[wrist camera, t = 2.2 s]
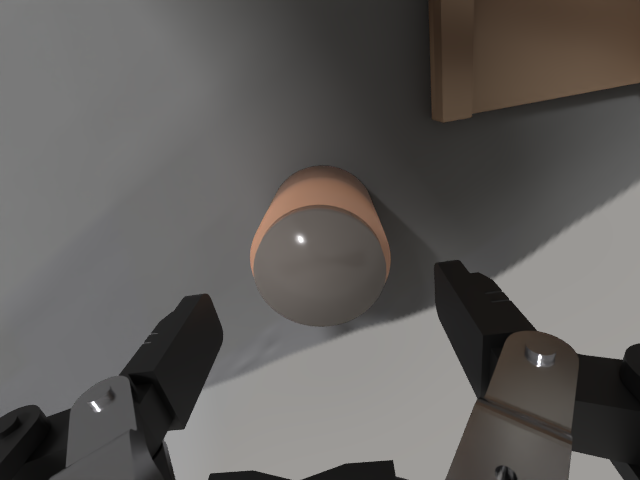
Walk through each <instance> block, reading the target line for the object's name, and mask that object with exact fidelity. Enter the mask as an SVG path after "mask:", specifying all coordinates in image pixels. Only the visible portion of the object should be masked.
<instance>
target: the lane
mask: <svg viewBox="0 0 640 480" xmlns="http://www.w3.org/2000/svg"><path fill="white" fill-rule="evenodd" d="M428 2H429V36H430V70H431V104H432V120H435V121H439V122H442V123H444V122H450V121H455V120H460V119H466V118H471V117H472V114H474V113H480V112H485V111H490V110H496V109H501V108H506V107H512V106H517V105H523V104H528V103H533V102H539V101H544V100H549V99H555V98H560V97H566V96H571V95H576V94H582V93H587V92H592V91H598V90H603V89H609V88H614V87H619V86H625V85H630V84H635V83H640V0H428Z"/></svg>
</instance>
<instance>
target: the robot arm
mask: <svg viewBox="0 0 640 480" xmlns="http://www.w3.org/2000/svg"><path fill="white" fill-rule="evenodd" d="M434 279H435V303H436V310H437V313H438V317H439V320H440V322H441V324H442V326H443V328H444V330H445V332H446V334H447V336H448V338H449V340H450V342H451V344H452V347H453V349H454V351H455V353H456V355H457V357H458V359H459V361H460V363H461V365H462V367H463V369H464V371H465V374H466V376H467V378H468V380H469V382H470V384H471V386H472V388H473V390H474V392H475V394H476V396H477V401H476V403H475V405H474V408H473V410H472V413H471V415H470V418H469V420H468V423H467V426H466V428H465V431H464V433H463V436H462V438H461V441H460V444H459V446H458V449H457V451H456V454H455V456H454V459H453V462H452V464H451V467H450V469H449V472H448V474H447V477H446V479H445V480H568V478H569V468H570V459H571V451H575V452H580V453H584V454H588V455H593V456H597V457H602V458H606V459H610V461H611V462H612V464H613V465H614V466H615V468H616V469H617V471H618V472H619V474H620V475H621V476H622V478H623V479H624V480H640V344H635V345H633V346H630V347H629V348H628V349H627V350H626V352H625V355H624V358H623V360H619V359H611V358H603V357H595V356H586V355H581V354H577V353H576V352H575V351H574V349H573V348H572V347H571V346H570V345H568V344H567V343H565V342H564V341H563V340H561V339H559V338H557V337H555V336H553V335H550V334H547V333H543V332H539V331H537V330H536V329H535V328H534V327H533V325H532V324H531V323H530V322H529V321H528V320H527V319H526V317H525V316H524V315H523V314H522V313H521V312H520V311H519V309H518V308H517V307H516V306H515V305H514V304H513V303H512V301H509V298H508V297H507V296H506V295H505V294H504V293H503V292H502V290H501V289H500V288H499V287H498V285H497V284H496V283H495V282H494V281H493V280H492V279H490V278H488V277H486V276H485V275H483V274H481V273H479V272H477V273H469V272H468V270H467V269H466V268H465V266H464V265H463V264H462V263H461V261H460V260H453V261H446V262H439V263H435V266H434ZM222 342H223V330H222V326H221V323H220V321H219V318H218V316H217V313H216V310H215V308H214V305H213V303H212V300H211V298H210V296H209V295H208V294H199V295H192V296H186V297H184V298H183V299H182V301H181V302H180V303H179V305H178V306H177V307H176V309H175V310H174V312H171V313H170V314H169V315H168V316H166V317H165V318H164V319H163V320H161V321H160V322H159V323H158V325H157V326H156V327H155V329H154V330H153V331H152V332H151V335H149V336H148V338H147V339H146V340H145V342H144V344H142V346H141V347H140V348H139V350H138V351H137V352H136V353H135V355H134V356H133V357H132V359H131V360H130V361H129V363H128V364H127V365H126V367H125V368H124V369H123V371H122V372H121V373H120V374H119V376H114V377H110V378H107V379H105V380H102V381H100V382H99V383H97V384H95V385H94V386H92V387H91V388H89V389H88V390H87V391H85V392H84V393H83V394H82V395H81V396H80V397H79V398H78V399H77V400H76V402H75V403H74V405H73V406H72V408H71V409H68V410H65V411H62V412H60V413H57V414H54V415H51V416H48V417H46V416H45V414H44V413H43V412H42V411H41V409H40V408H39V407H38V406H36V405H28V406H24V407H21V408H18V409H16V410H13V411H11V412H9V413H7V414H6V415H4V416H2V417H1V418H0V480H176V479H175V475H174V471H173V467H172V463H171V459H170V455H169V451H168V447H167V444H166V442H165V441H164V437H165V435H166V433H167V431H170V430H182V429H185V426H186V424H187V422H188V420H189V417H190V415H191V413H192V411H193V408H194V406H195V404H196V402H197V399H198V397H199V395H200V393H201V390H202V388H203V386H204V384H205V381H206V379H207V377H208V374H209V372H210V370H211V368H212V365H213V363H214V361H215V359H216V356H217V354H218V352H219V350H220V347H221V345H222ZM208 480H290V479H286V478H282V477H278V476H273V475H269V474H265V473H261V472H257V471H239V472H226V473H212V474H210V475H209V479H208ZM303 480H407V479H404V478H399V477H396V476H395V470H394V464H393V460H389V461H376V462H362V463H348V464H344V465H341V466H338V467H335V468H333V469H330V470H327V471H324V472H322V473H319V474H316V475H313V476H311V477H308V478H305V479H303Z"/></svg>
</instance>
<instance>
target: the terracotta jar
mask: <svg viewBox="0 0 640 480" xmlns="http://www.w3.org/2000/svg"><path fill="white" fill-rule="evenodd" d="M250 262H251V269H252V273H253V276H254V279H255V283H256V286H257V288H258V291H259V292H260V294H261V296H262V298H263V299H264V300H265V302H266V303H267V304H268V305H269V306H270V307H271V308H272V309H273V310H274V311H276V312H277V313H278V314H280V315H281V316H283V317H285V318H287V319H289V320H291V321H293V322H296V323H299V324H303V325H308V326H318V327H325V326H334V325H339V324H342V323H346V322H348V321H351V320H353V319H355V318H357V317H359V316H360V315H362V314H363V313H364V312H366V311H367V310H368V309H369V308H370V307H371V306H372V305H373V304H374V303H375V302H376V300H377V299H378V297H379V296H380V294H381V292H382V289H383V287H384V284H385V282H386V280H387V278H388V274H389V271H390V264H391V254H390V248H389V244H388V241H387V238H386V235H385V233H384V230H383V228H382V225H381V222H380V220H379V217H378V215H377V212H376V210H375V207H374V204H373V202H372V199H371V197H370V195H369V193H368V191H367V189H366V188H365V186H364V185H363V184H362V183H361V182H360V181H359V180H358V179H357V178H356V177H355V176H354V175H352V174H350V173H349V172H347V171H345V170H342V169H340V168H336V167H332V166H312V167H308V168H305V169H302V170H300V171H298V172H296V173H294V174H293V175H291V176H290V177H289V178H287V179H286V180H285V181H284V182H283V184H282V185H281V186H280V188H279V189H278V191H277V193H276V194H275V196H274V198H273V200H272V202H271V204H270V206H269V208H268V210H267V212H266V214H265V216H264V218H263V220H262V222H261V224H260V226H259V228H258V230H257V232H256V234H255V237H254V239H253V242H252V246H251V253H250Z"/></svg>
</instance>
